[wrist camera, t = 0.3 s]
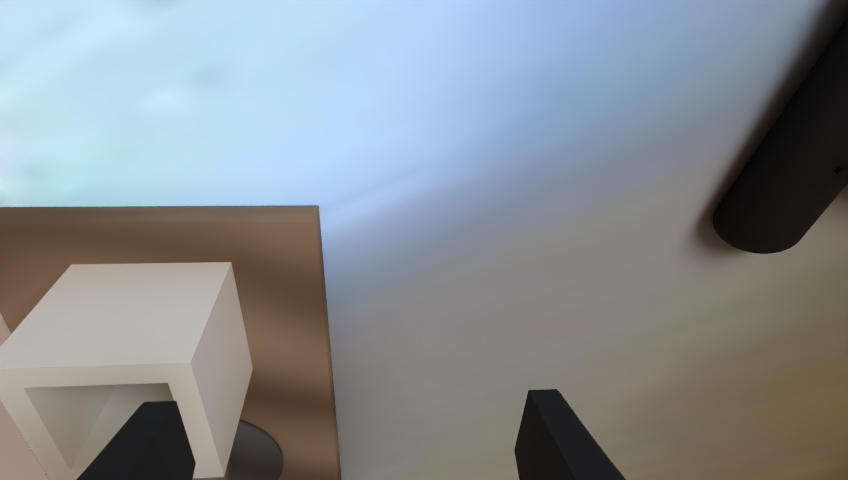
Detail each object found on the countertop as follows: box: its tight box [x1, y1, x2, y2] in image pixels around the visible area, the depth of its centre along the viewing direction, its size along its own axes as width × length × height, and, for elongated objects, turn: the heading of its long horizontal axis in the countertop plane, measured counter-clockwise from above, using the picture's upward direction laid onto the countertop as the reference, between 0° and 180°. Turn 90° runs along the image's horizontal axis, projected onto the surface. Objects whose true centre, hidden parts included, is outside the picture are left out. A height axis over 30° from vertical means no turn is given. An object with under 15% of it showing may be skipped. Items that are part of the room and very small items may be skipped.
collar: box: [0, 262, 253, 480], centre depth 18 cm, size 6×6×5 cm
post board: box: [0, 206, 341, 480], centre depth 21 cm, size 18×12×6 cm, turn 178°
